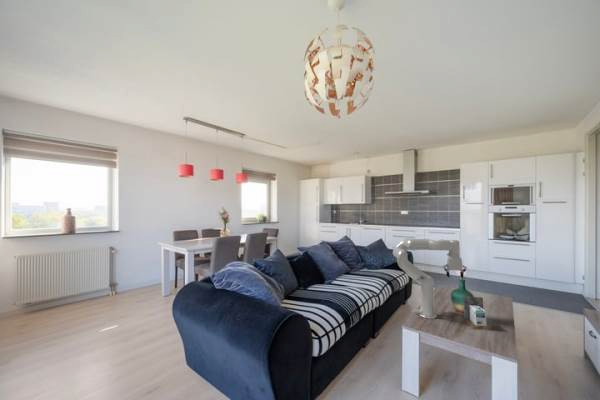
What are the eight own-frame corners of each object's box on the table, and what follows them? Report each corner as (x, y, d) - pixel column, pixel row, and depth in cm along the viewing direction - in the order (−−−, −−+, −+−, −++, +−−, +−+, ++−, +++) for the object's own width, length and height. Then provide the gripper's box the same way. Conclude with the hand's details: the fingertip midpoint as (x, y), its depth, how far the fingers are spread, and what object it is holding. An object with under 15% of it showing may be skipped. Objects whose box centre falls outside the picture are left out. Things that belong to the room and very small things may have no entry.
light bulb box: (487, 326, 175) (486, 311, 176) (476, 325, 177) (475, 310, 177) (479, 320, 186) (479, 305, 186) (469, 319, 187) (468, 304, 188)
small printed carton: (472, 328, 177) (471, 302, 178) (464, 320, 191) (463, 296, 192) (492, 330, 174) (491, 303, 175) (482, 321, 188) (481, 297, 189)
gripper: (443, 255, 199) (444, 277, 198) (468, 256, 195) (469, 279, 195) (440, 254, 207) (441, 275, 206) (464, 255, 203) (465, 276, 202)
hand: (454, 277), depth 200 cm, fingers open, 9 cm apart
